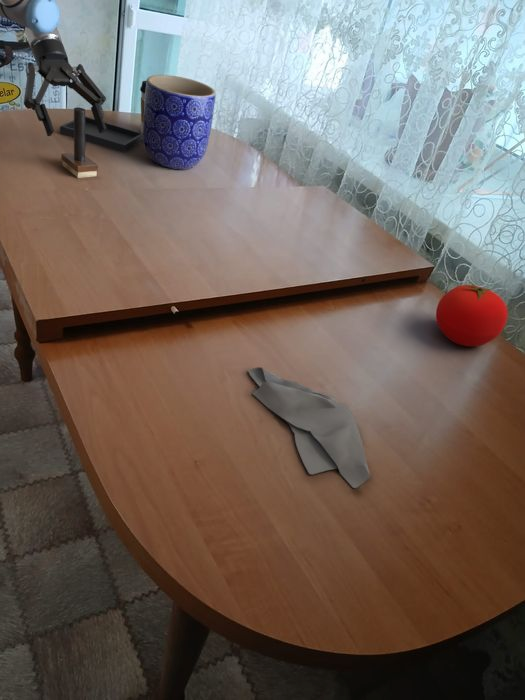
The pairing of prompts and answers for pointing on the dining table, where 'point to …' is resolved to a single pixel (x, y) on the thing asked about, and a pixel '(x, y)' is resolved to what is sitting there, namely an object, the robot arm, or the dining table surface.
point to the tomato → (471, 315)
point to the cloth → (316, 426)
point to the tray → (106, 135)
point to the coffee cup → (142, 102)
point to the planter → (177, 120)
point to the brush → (79, 150)
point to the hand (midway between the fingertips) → (77, 132)
